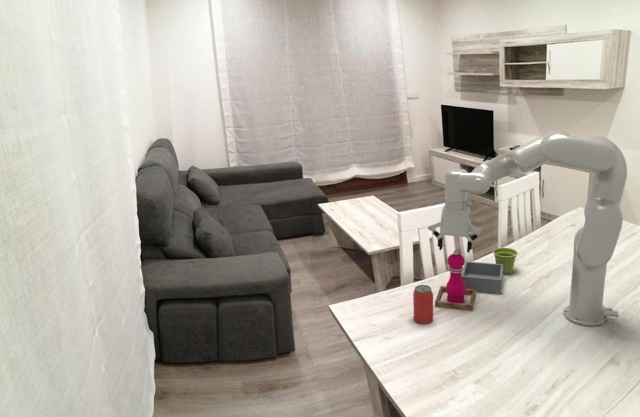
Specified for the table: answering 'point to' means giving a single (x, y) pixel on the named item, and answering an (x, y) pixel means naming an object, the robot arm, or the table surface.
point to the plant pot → (505, 258)
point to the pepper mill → (455, 279)
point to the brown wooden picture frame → (455, 305)
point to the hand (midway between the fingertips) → (454, 249)
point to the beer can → (423, 304)
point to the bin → (483, 277)
